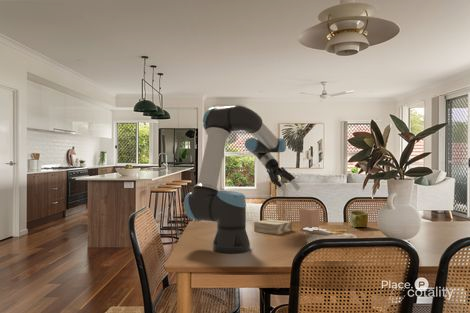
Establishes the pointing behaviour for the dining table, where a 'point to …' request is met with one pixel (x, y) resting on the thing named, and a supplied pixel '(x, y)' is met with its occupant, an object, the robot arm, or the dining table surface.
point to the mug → (358, 219)
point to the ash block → (273, 226)
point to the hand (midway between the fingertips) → (292, 190)
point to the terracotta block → (309, 218)
